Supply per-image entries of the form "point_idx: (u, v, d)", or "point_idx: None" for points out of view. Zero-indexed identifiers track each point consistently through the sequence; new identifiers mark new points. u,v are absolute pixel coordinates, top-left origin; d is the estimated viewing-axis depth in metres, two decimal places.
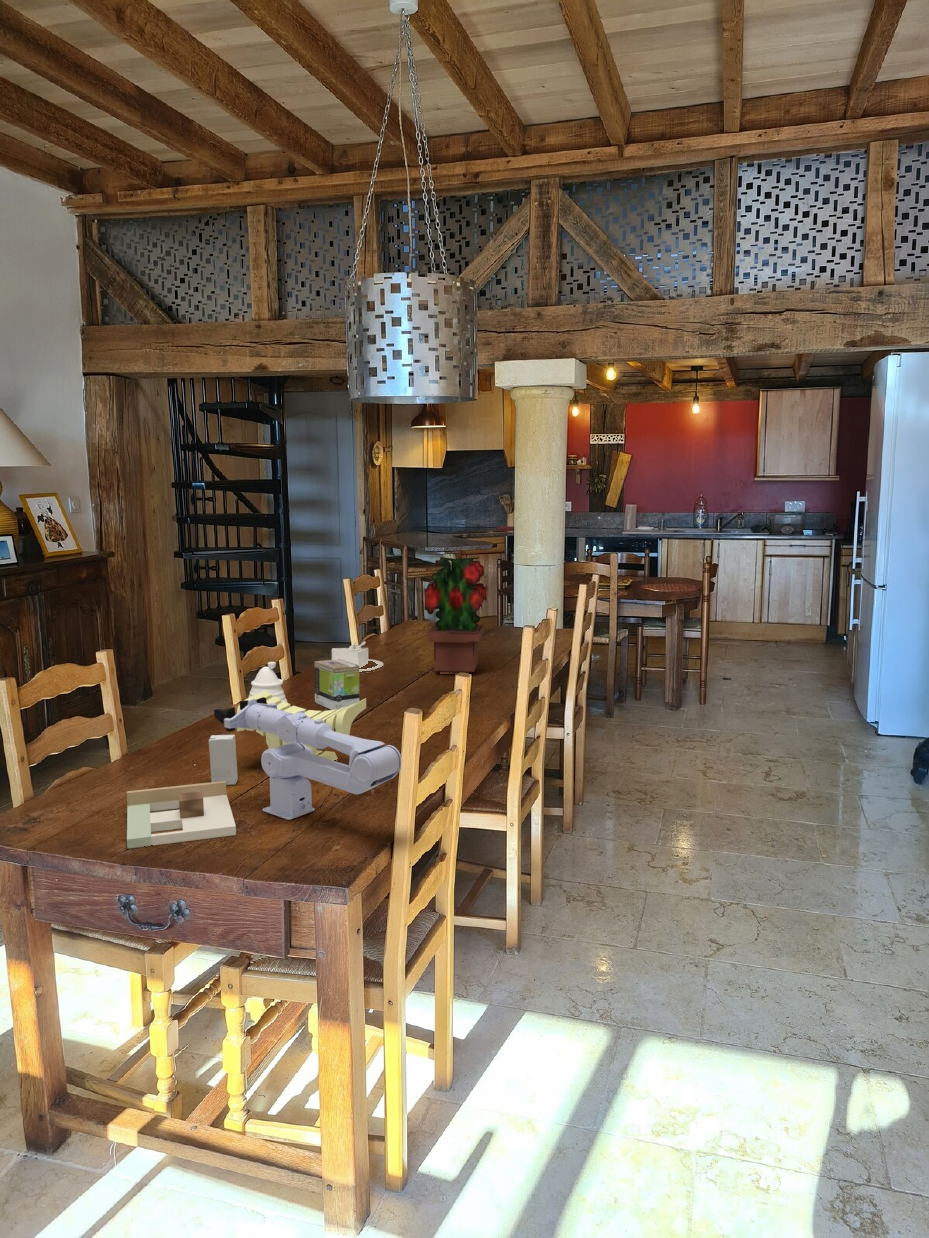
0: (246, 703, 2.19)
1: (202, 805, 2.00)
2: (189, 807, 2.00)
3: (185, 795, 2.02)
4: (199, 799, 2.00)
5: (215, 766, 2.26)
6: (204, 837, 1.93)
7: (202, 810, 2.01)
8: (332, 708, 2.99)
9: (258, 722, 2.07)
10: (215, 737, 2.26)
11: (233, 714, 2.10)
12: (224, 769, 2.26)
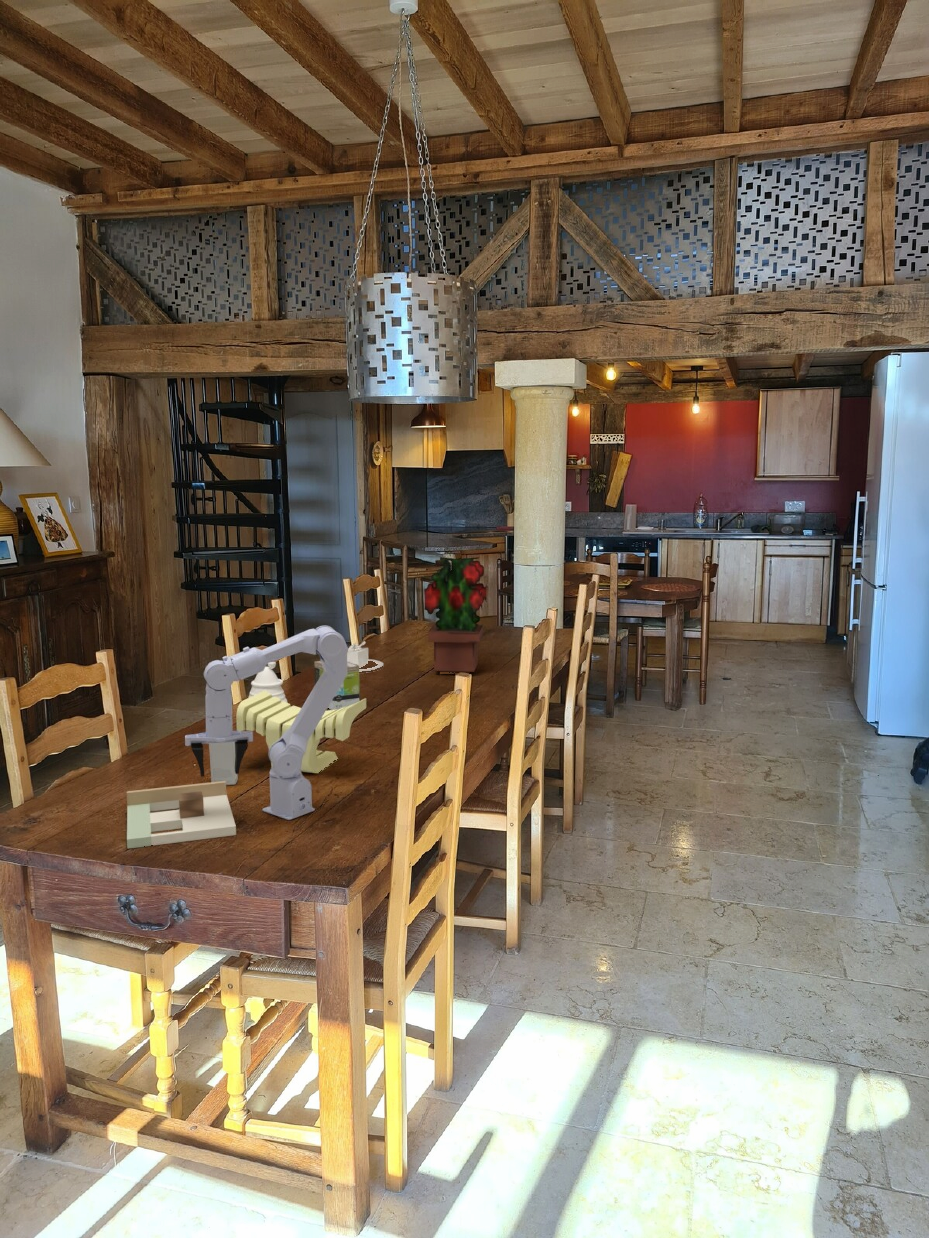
0: (203, 765, 2.01)
1: (202, 805, 2.00)
2: (189, 807, 2.00)
3: (185, 795, 2.02)
4: (199, 799, 2.00)
5: (215, 766, 2.26)
6: (204, 837, 1.93)
7: (202, 810, 2.01)
8: (332, 708, 2.99)
9: (220, 716, 1.99)
10: None
11: (239, 743, 2.03)
12: (224, 769, 2.26)
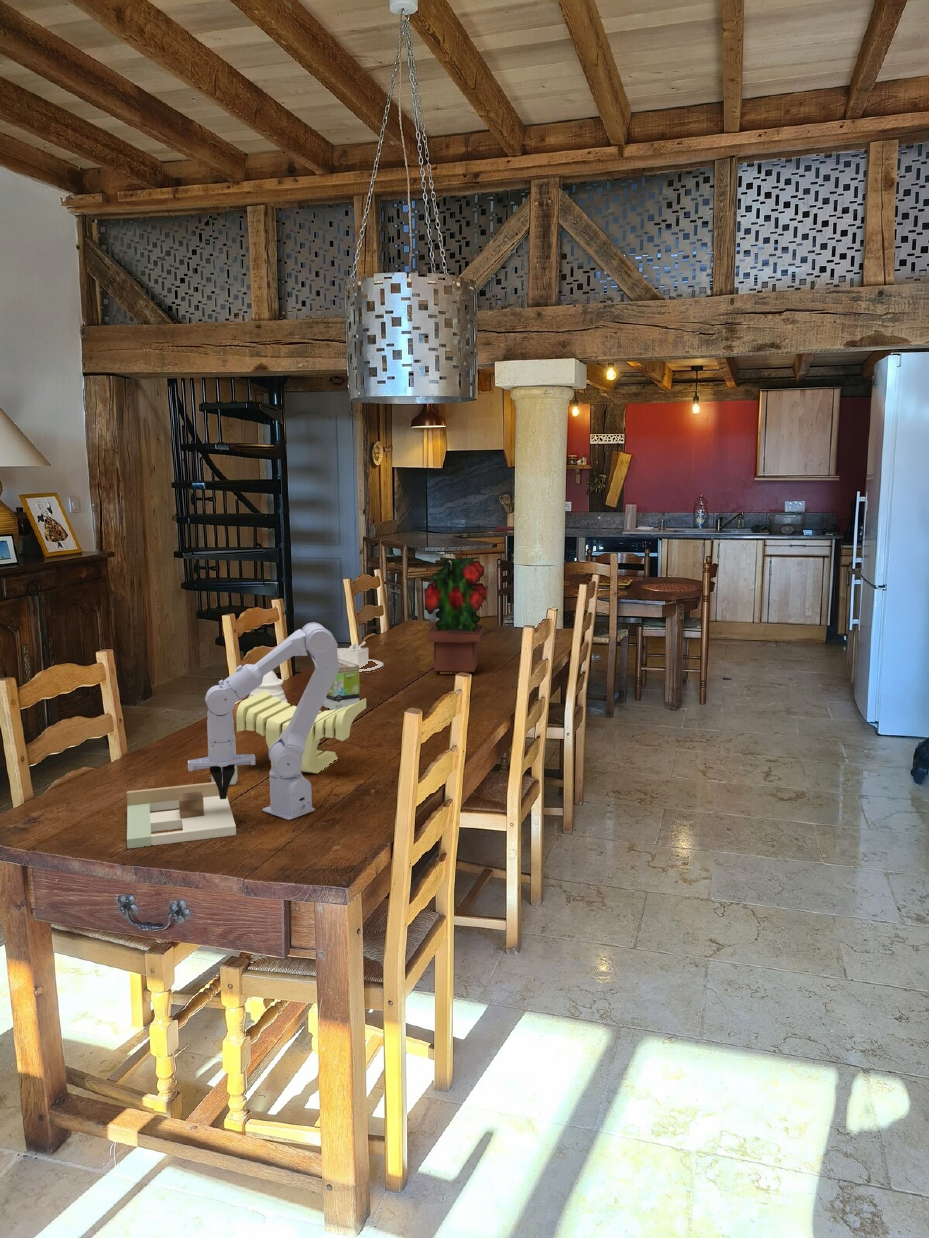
0: None
1: (202, 805, 2.00)
2: (189, 807, 2.00)
3: (185, 795, 2.02)
4: (199, 799, 2.00)
5: None
6: (204, 837, 1.93)
7: (202, 810, 2.01)
8: (332, 708, 2.99)
9: (222, 741, 2.00)
10: None
11: (225, 768, 2.02)
12: None
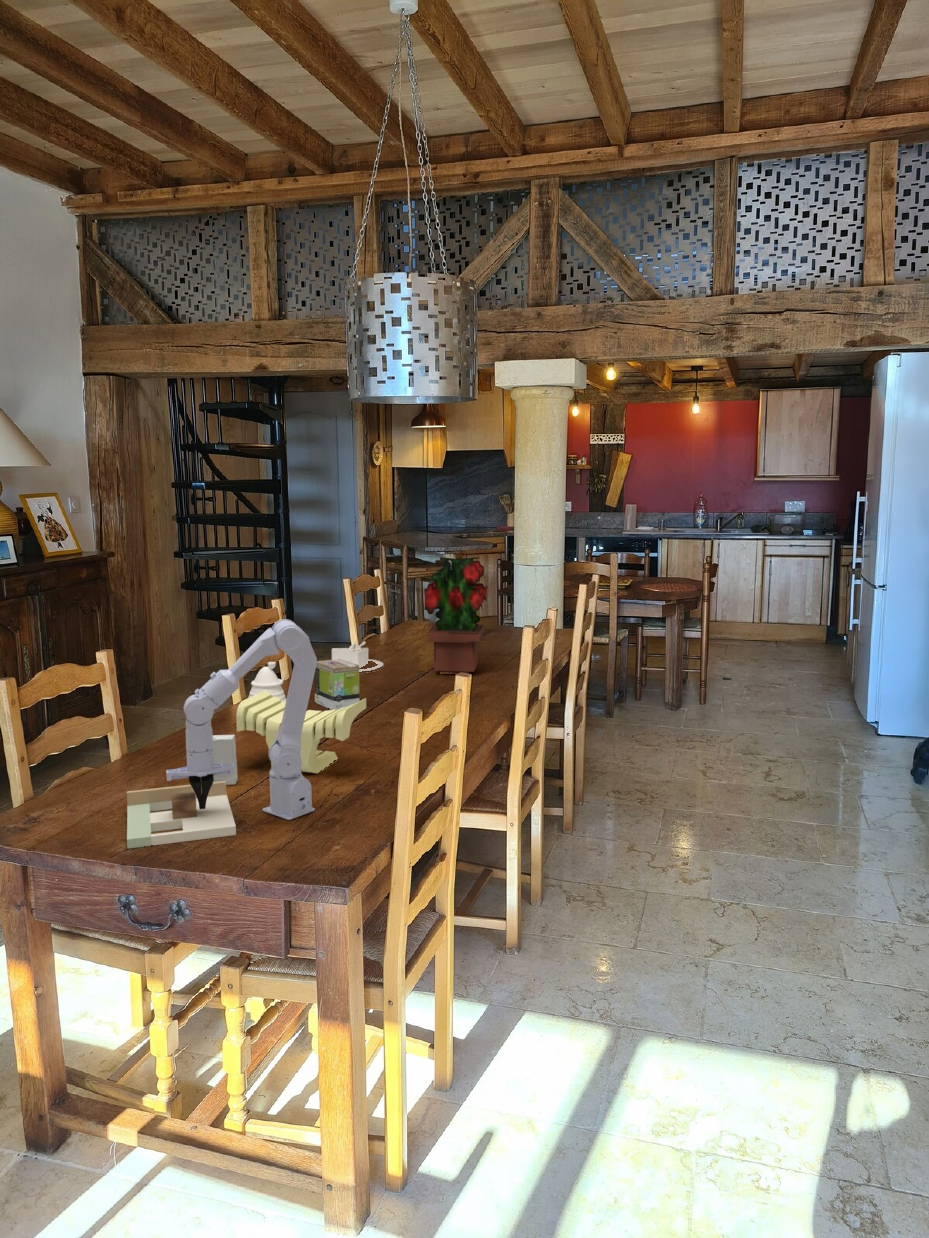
0: (201, 798, 2.02)
1: (195, 806, 2.00)
2: (181, 808, 1.99)
3: (178, 796, 2.02)
4: (191, 799, 2.00)
5: None
6: (204, 837, 1.93)
7: (195, 811, 2.00)
8: (332, 708, 2.99)
9: (200, 750, 1.98)
10: (215, 737, 2.26)
11: (204, 778, 2.01)
12: None
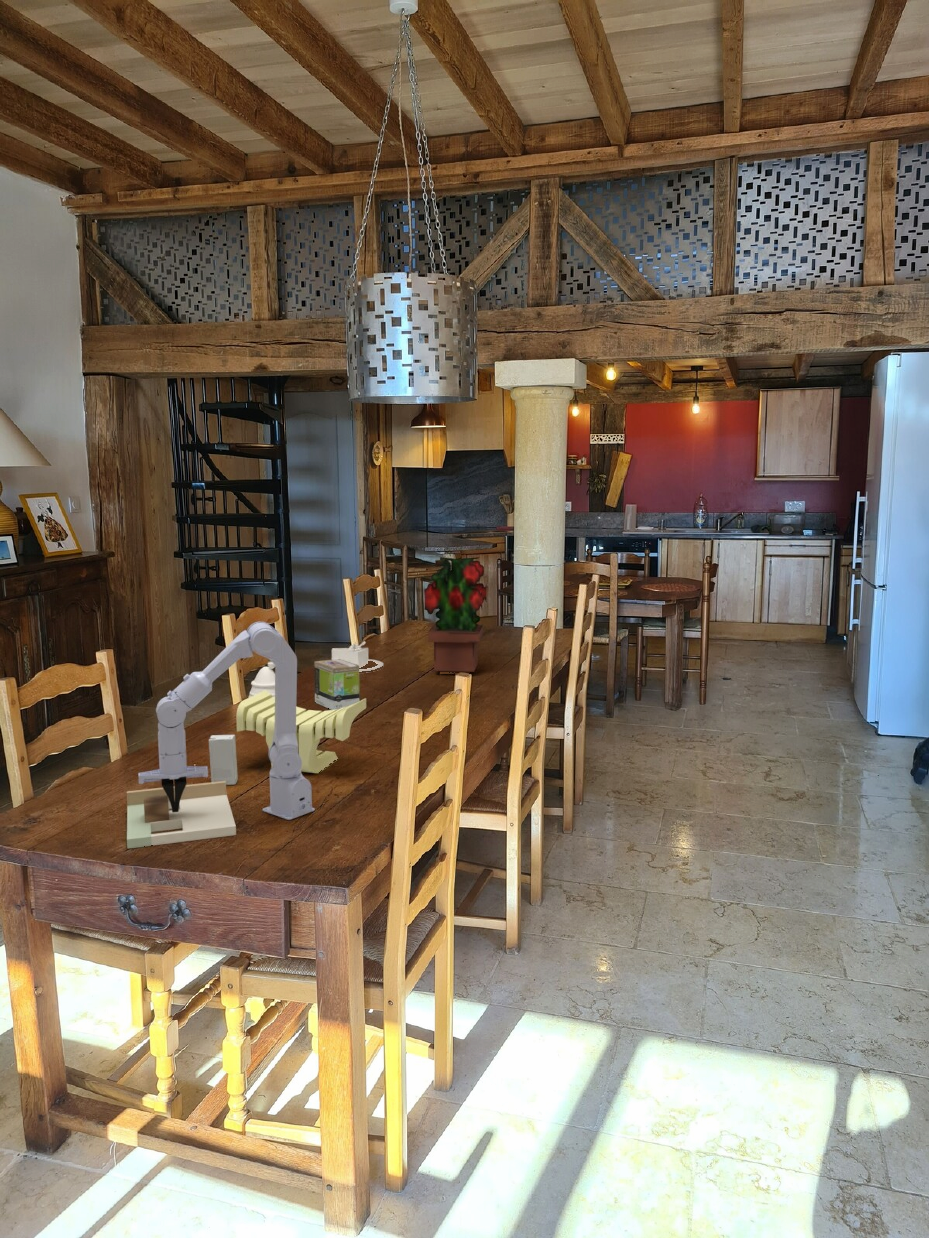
0: (174, 801, 2.00)
1: (167, 809, 1.98)
2: (154, 811, 1.97)
3: (150, 799, 2.00)
4: (164, 803, 1.97)
5: (215, 766, 2.26)
6: (204, 837, 1.93)
7: (167, 814, 1.98)
8: (332, 708, 2.99)
9: (173, 753, 1.96)
10: (215, 737, 2.26)
11: (177, 781, 1.99)
12: (224, 769, 2.26)
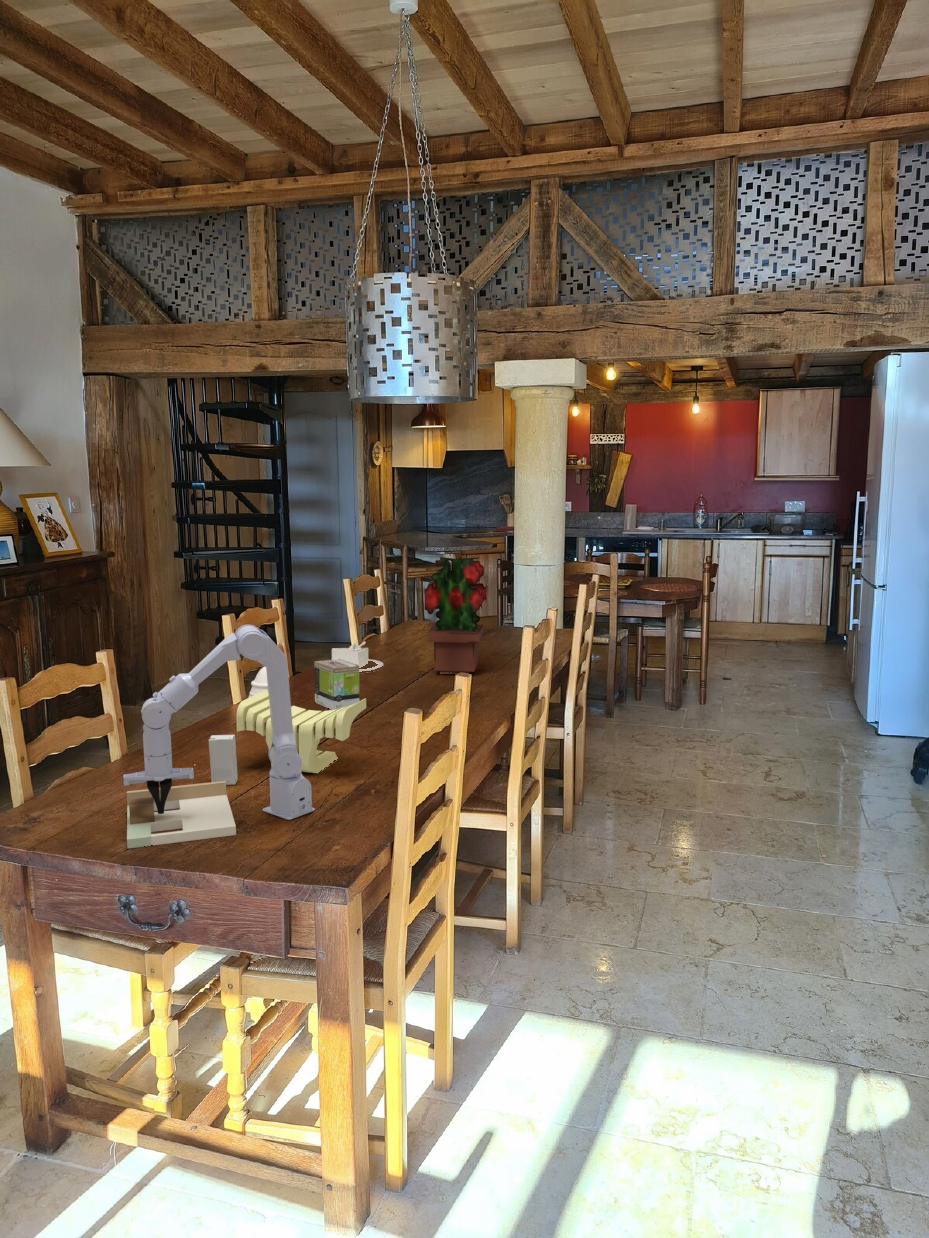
0: (160, 803, 1.99)
1: (152, 811, 1.97)
2: (139, 813, 1.96)
3: (136, 801, 1.99)
4: (149, 804, 1.96)
5: (215, 766, 2.26)
6: (204, 837, 1.93)
7: (153, 816, 1.97)
8: (332, 708, 2.99)
9: (158, 755, 1.95)
10: (215, 737, 2.26)
11: (162, 782, 1.98)
12: (224, 769, 2.26)
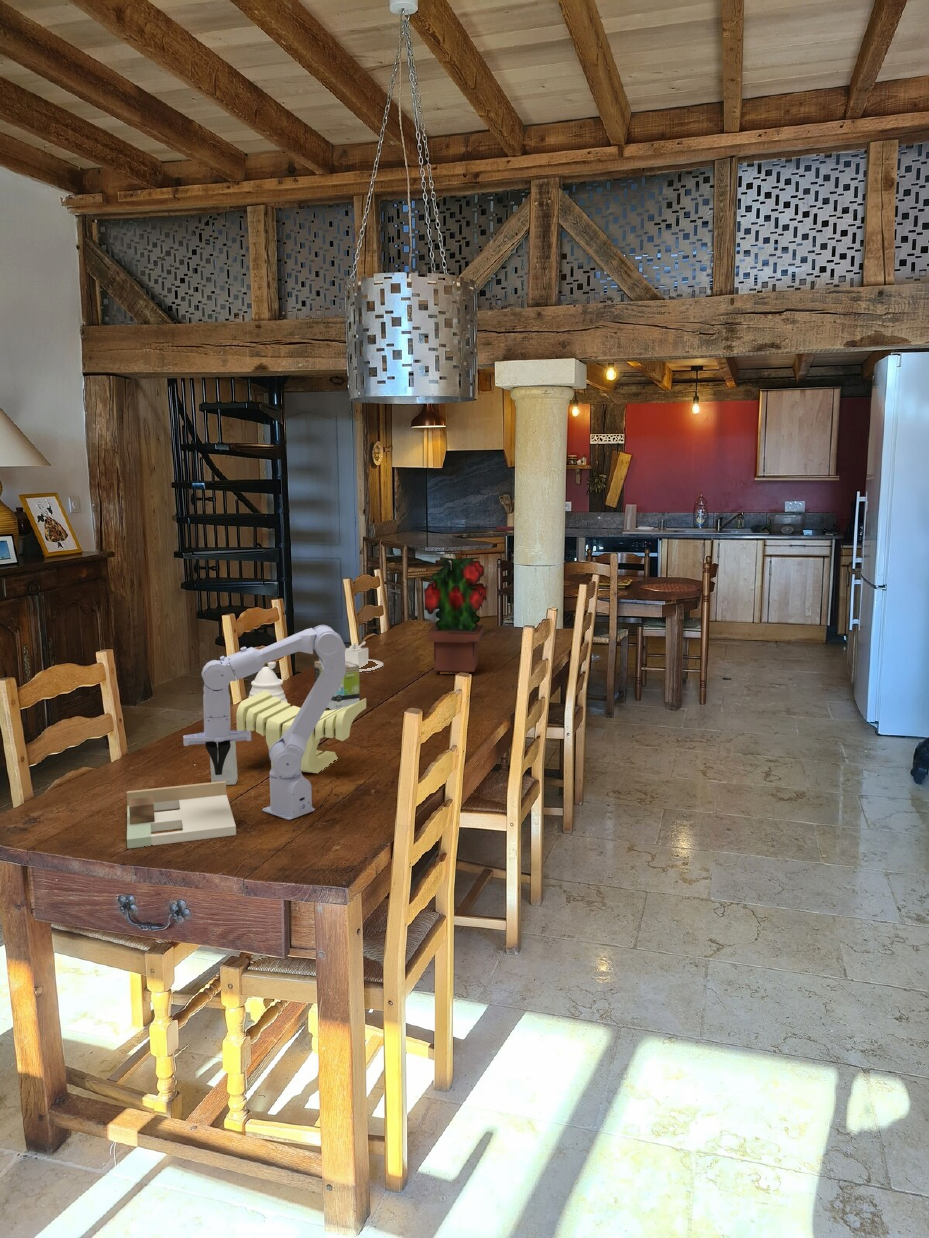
0: (217, 764, 2.02)
1: (152, 811, 1.97)
2: (139, 813, 1.96)
3: (136, 801, 1.99)
4: (149, 804, 1.96)
5: None
6: (204, 837, 1.93)
7: (153, 816, 1.97)
8: (332, 708, 2.99)
9: (217, 716, 1.99)
10: None
11: (221, 744, 2.02)
12: (224, 769, 2.26)
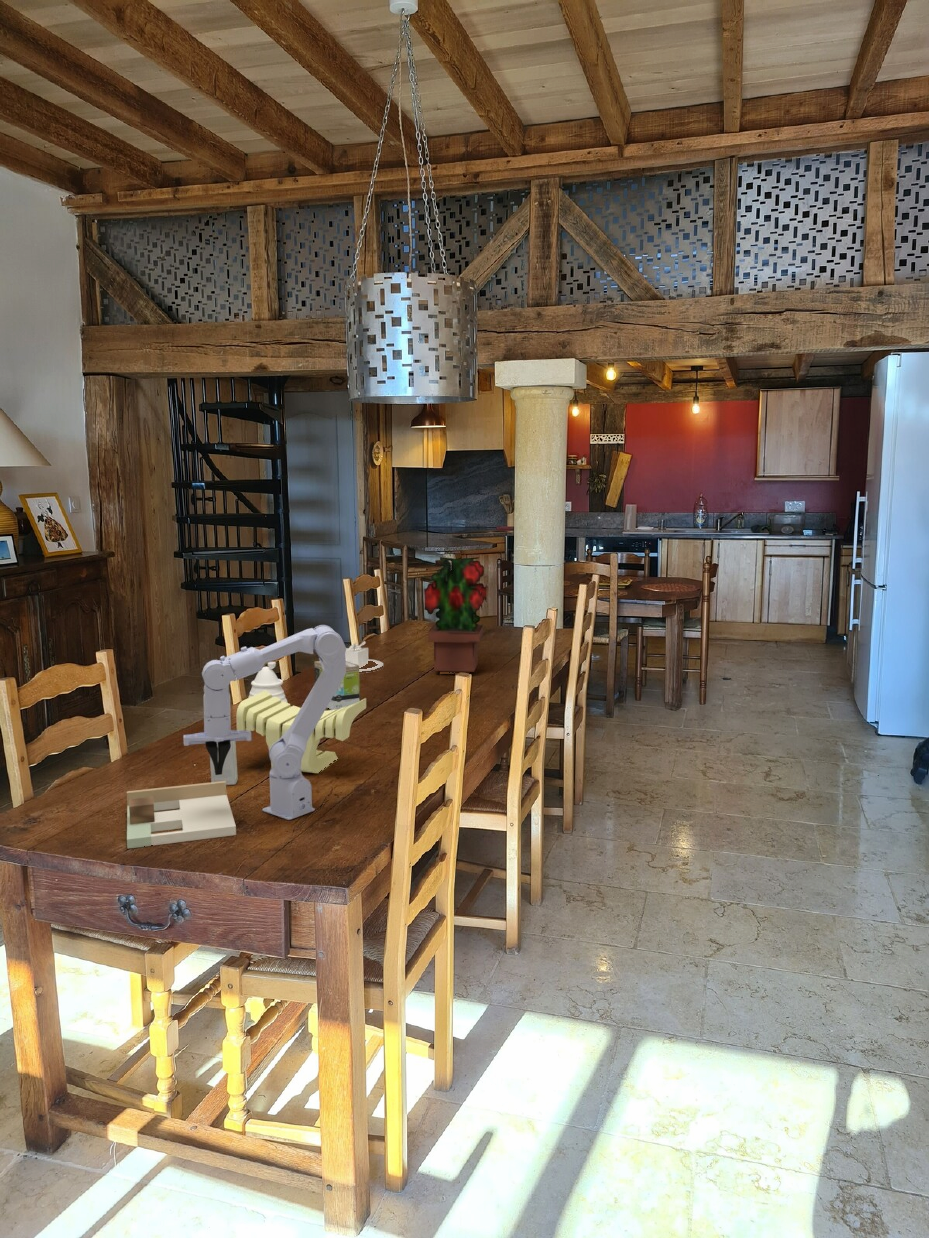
0: (217, 764, 2.02)
1: (152, 811, 1.97)
2: (139, 813, 1.96)
3: (136, 801, 1.99)
4: (149, 804, 1.96)
5: None
6: (204, 837, 1.93)
7: (153, 816, 1.97)
8: (332, 708, 2.99)
9: (218, 716, 1.99)
10: None
11: (221, 744, 2.02)
12: (224, 769, 2.26)
